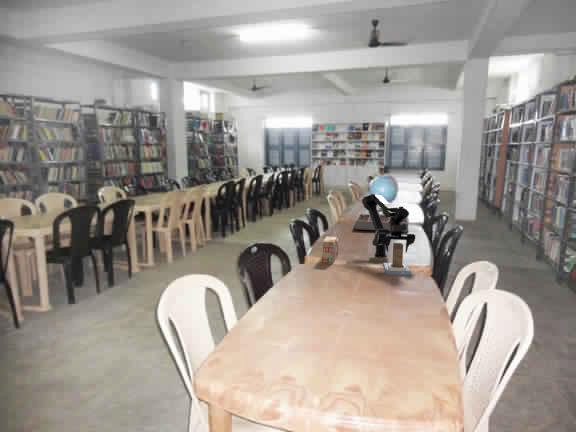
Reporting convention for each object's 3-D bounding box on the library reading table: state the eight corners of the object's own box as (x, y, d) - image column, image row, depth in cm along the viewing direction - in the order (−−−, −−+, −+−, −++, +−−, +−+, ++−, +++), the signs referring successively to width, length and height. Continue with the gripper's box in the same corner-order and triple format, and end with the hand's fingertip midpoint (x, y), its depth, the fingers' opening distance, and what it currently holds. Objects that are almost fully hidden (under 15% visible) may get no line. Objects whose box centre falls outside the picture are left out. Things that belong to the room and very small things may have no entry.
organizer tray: (408, 233, 290) (409, 220, 288) (354, 231, 300) (354, 218, 298) (407, 225, 321) (408, 213, 319) (357, 223, 331) (358, 211, 329)
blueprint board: (383, 264, 213) (383, 259, 212) (406, 265, 211) (406, 260, 211) (386, 274, 195) (386, 270, 195) (411, 275, 194) (411, 271, 193)
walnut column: (392, 267, 205) (393, 242, 202) (400, 267, 204) (402, 243, 202) (393, 269, 200) (394, 245, 198) (402, 270, 200) (403, 245, 197)
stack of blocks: (328, 252, 237) (328, 232, 235) (338, 253, 236) (338, 233, 234) (322, 262, 217) (322, 240, 215) (333, 263, 215) (334, 241, 213)
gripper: (379, 217, 207) (379, 243, 198) (415, 218, 204) (418, 244, 195) (377, 229, 216) (378, 254, 207) (412, 230, 213) (414, 255, 204)
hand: (397, 252), depth 203 cm, fingers open, 9 cm apart
